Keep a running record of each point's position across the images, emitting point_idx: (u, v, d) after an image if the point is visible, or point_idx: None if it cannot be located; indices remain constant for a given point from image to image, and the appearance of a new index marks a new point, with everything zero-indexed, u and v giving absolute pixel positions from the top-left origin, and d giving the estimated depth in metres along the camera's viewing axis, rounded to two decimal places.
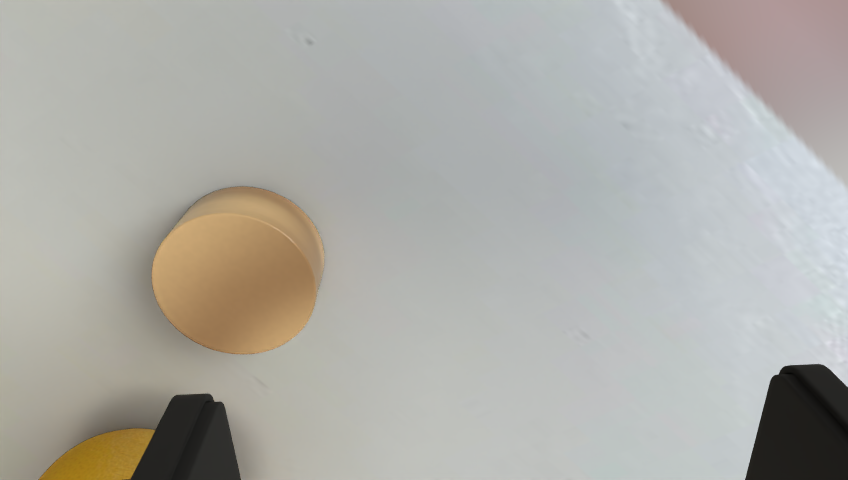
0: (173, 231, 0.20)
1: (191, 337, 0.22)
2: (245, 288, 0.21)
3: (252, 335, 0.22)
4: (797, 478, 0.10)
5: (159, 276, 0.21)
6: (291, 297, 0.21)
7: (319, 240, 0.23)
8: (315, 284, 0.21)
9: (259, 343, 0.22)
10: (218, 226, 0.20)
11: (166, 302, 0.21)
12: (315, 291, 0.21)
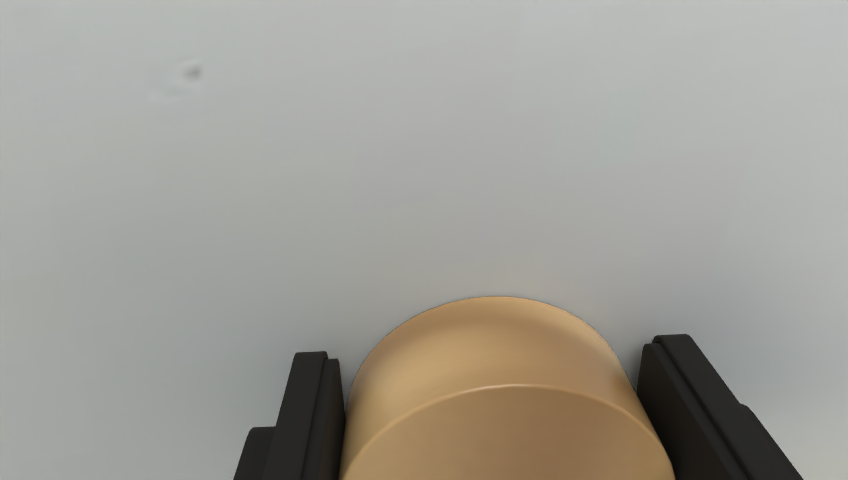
0: None
1: None
2: None
3: None
4: (660, 437, 0.10)
5: None
6: (602, 457, 0.09)
7: (548, 310, 0.11)
8: (616, 405, 0.09)
9: None
10: (378, 473, 0.09)
11: None
12: (629, 414, 0.09)
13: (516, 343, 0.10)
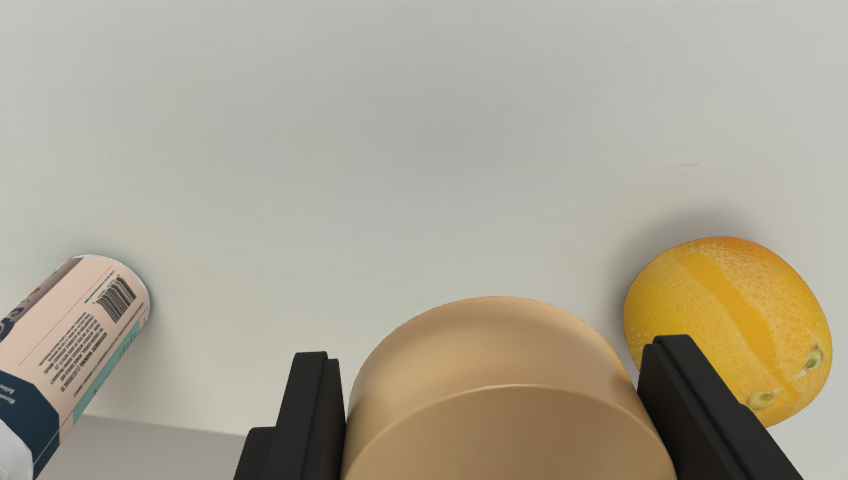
0: None
1: None
2: None
3: None
4: (660, 437, 0.10)
5: None
6: (604, 457, 0.09)
7: (549, 310, 0.11)
8: (618, 405, 0.09)
9: None
10: (380, 473, 0.09)
11: None
12: (631, 414, 0.09)
13: (518, 343, 0.10)
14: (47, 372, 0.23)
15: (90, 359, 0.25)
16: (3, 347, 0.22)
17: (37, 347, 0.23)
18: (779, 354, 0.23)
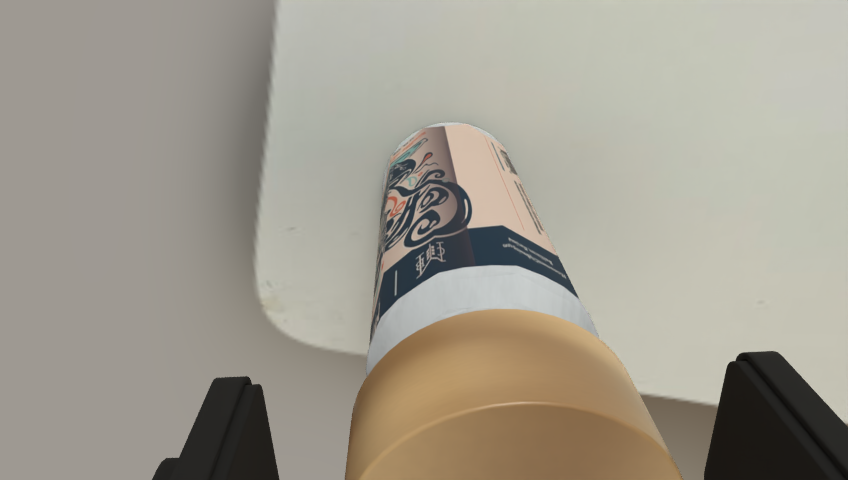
0: None
1: None
2: None
3: None
4: (750, 461, 0.10)
5: None
6: (613, 475, 0.09)
7: (556, 323, 0.11)
8: (628, 422, 0.09)
9: None
10: None
11: None
12: (641, 432, 0.09)
13: (525, 358, 0.09)
14: (552, 245, 0.14)
15: None
16: (485, 206, 0.14)
17: (517, 211, 0.15)
18: None
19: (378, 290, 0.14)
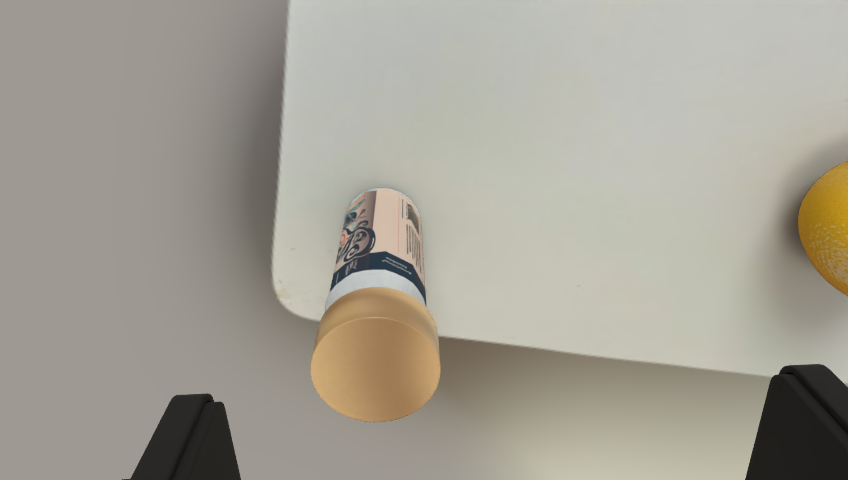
0: (312, 378, 0.26)
1: (393, 418, 0.27)
2: (380, 366, 0.26)
3: (419, 385, 0.26)
4: (797, 478, 0.10)
5: (337, 406, 0.27)
6: (407, 344, 0.26)
7: (395, 292, 0.27)
8: (409, 324, 0.25)
9: (428, 385, 0.26)
10: (325, 352, 0.26)
11: (358, 414, 0.27)
12: (414, 327, 0.25)
13: (376, 304, 0.26)
14: (413, 259, 0.31)
15: (420, 256, 0.33)
16: (381, 241, 0.31)
17: (399, 242, 0.31)
18: None
19: None
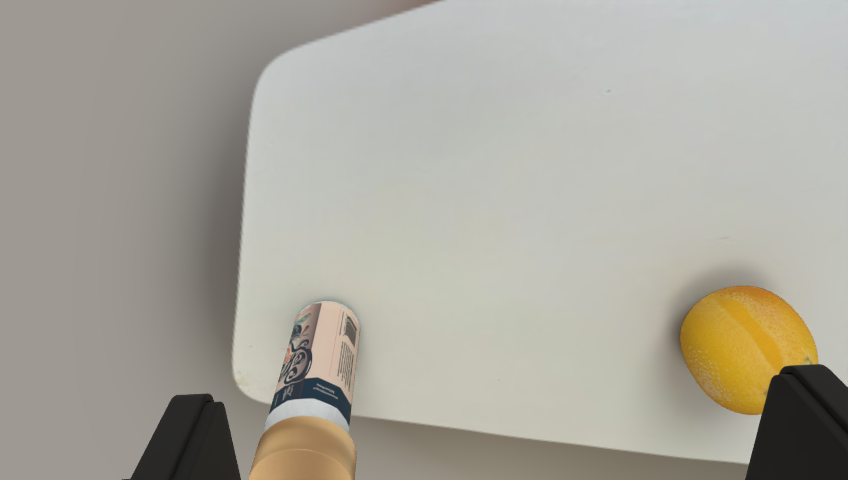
0: None
1: None
2: None
3: None
4: (797, 478, 0.10)
5: None
6: (325, 469, 0.32)
7: (319, 421, 0.33)
8: (326, 454, 0.32)
9: None
10: (259, 474, 0.32)
11: None
12: (331, 456, 0.32)
13: (302, 435, 0.32)
14: (342, 380, 0.37)
15: (352, 371, 0.39)
16: (316, 365, 0.37)
17: (331, 364, 0.38)
18: (784, 363, 0.38)
19: None
